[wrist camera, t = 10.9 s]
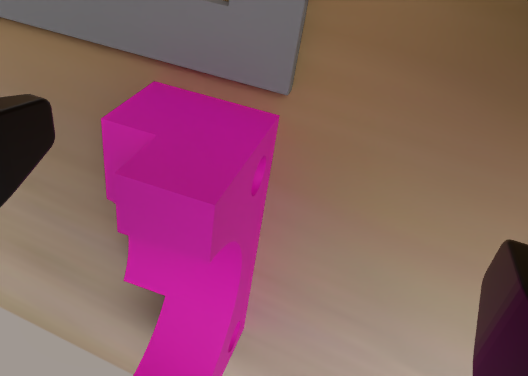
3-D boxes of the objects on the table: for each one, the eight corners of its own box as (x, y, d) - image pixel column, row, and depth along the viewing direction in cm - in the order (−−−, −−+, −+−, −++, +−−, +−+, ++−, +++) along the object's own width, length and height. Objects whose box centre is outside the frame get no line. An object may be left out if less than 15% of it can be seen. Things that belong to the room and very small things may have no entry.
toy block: (156, 79, 23) (51, 153, 17) (280, 113, 22) (214, 205, 16) (155, 293, 32) (86, 391, 26) (244, 326, 31) (193, 436, 25)
